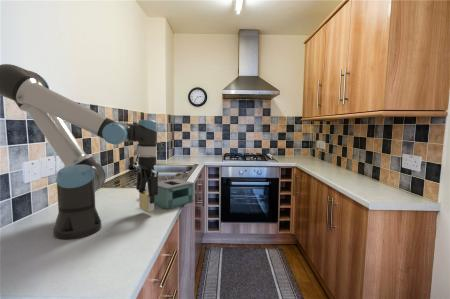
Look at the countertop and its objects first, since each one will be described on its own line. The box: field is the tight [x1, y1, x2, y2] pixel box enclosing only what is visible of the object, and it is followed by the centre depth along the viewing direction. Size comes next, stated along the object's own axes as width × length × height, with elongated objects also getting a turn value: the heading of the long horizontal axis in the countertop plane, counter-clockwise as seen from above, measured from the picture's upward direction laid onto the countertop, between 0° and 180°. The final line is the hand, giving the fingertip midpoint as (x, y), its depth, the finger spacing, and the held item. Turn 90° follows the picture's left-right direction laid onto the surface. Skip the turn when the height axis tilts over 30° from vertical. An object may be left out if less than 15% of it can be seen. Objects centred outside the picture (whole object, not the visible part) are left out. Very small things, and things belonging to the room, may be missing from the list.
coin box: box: [154, 178, 194, 210], centre depth 127 cm, size 16×14×10 cm
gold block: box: [139, 192, 154, 213], centre depth 110 cm, size 6×3×7 cm, turn 48°
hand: (146, 208), depth 111 cm, fingers closed on gold block, 6 cm apart
